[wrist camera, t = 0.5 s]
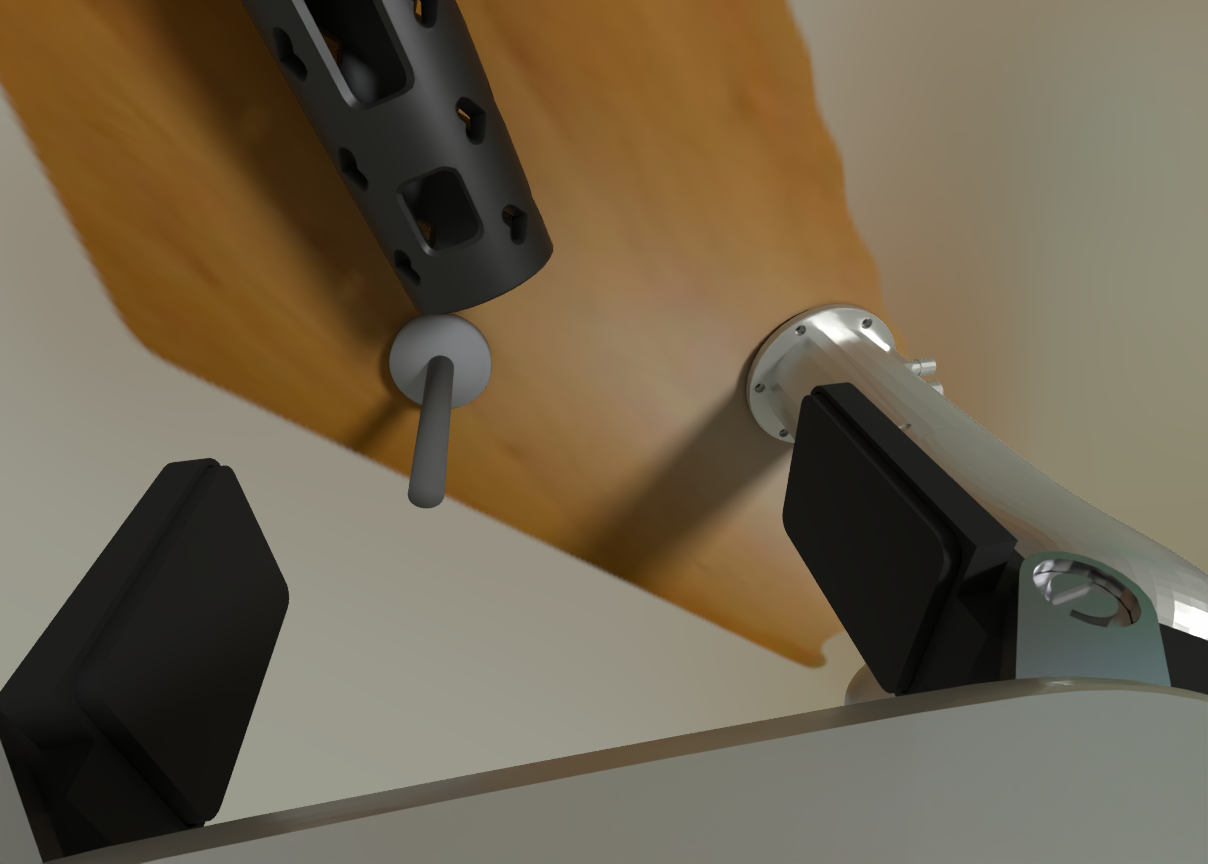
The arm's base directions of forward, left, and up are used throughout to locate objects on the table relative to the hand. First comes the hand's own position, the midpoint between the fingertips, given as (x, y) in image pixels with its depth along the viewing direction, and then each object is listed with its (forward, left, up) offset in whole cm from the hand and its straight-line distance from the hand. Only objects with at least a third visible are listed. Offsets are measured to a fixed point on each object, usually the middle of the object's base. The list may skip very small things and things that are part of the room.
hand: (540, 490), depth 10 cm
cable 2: (+6, +13, -33) cm, 36 cm away
